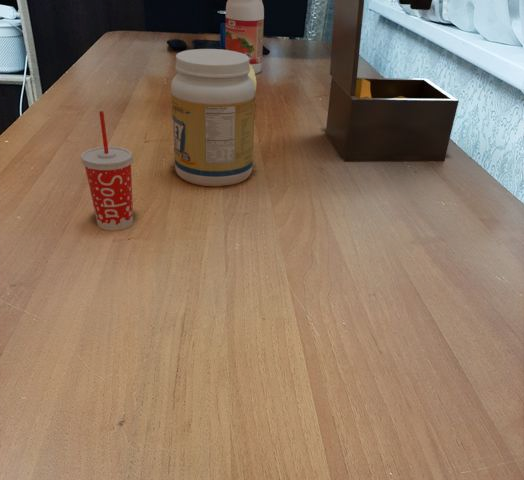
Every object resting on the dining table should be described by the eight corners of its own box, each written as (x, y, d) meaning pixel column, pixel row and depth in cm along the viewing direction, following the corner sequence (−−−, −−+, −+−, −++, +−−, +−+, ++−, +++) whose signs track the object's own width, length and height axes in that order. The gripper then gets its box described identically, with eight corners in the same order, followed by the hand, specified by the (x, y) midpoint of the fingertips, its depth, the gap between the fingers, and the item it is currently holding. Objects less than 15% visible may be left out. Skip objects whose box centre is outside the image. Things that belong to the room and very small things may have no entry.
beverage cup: (84, 230, 73) (65, 116, 64) (101, 211, 77) (85, 102, 69) (130, 235, 72) (117, 121, 64) (145, 215, 77) (135, 106, 68)
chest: (415, 133, 111) (426, 78, 105) (444, 161, 99) (459, 100, 93) (325, 133, 109) (331, 77, 102) (344, 161, 97) (352, 99, 91)
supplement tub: (167, 164, 92) (159, 48, 82) (238, 157, 96) (239, 46, 86) (186, 193, 83) (181, 67, 73) (264, 184, 87) (269, 63, 77)
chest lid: (343, -52, 91) (312, -52, 90) (368, -45, 79) (333, -45, 79) (334, 74, 102) (306, 75, 102) (355, 96, 91) (324, 97, 90)
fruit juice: (269, 72, 147) (275, -61, 130) (241, 76, 142) (244, -61, 125) (245, 65, 153) (248, -64, 136) (218, 69, 148) (217, -64, 130)
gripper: (493, -147, 73) (457, 16, 84) (444, -139, 86) (418, 0, 98) (438, -151, 72) (408, 14, 83) (397, -143, 85) (376, -2, 97)
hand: (414, 5), depth 90 cm, fingers open, 4 cm apart
